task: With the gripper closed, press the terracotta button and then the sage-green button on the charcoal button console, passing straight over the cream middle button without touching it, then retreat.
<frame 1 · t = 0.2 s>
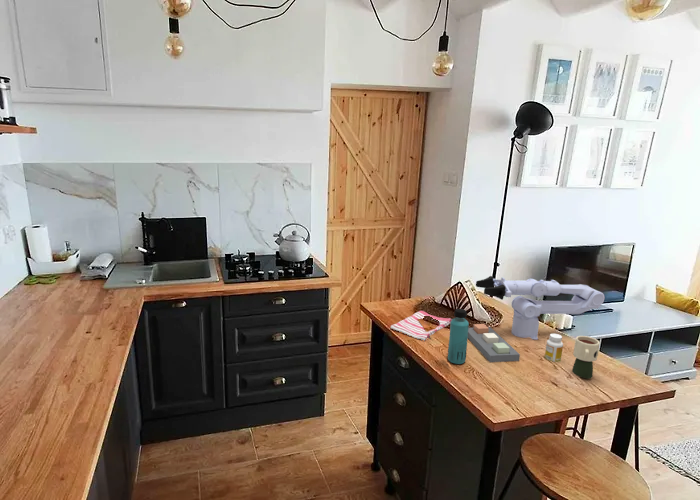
hand: (480, 287, 174), 21 cm above the worktop, tool horizontal, fingers open, 7 cm apart
button console: (489, 348, 169), on the worktop
supplement bottle: (552, 361, 162), on the worktop
sage button: (500, 349, 160), point 4 cm above the worktop, slide at 0.0 cm
beverage bottle: (456, 363, 157), on the worktop
terracotta button: (480, 329, 177), point 4 cm above the worktop, slide at 0.0 cm
dish towel: (421, 328, 188), on the worktop
character mug: (581, 376, 151), on the worktop
cream button: (490, 339, 168), point 4 cm above the worktop, slide at 0.0 cm
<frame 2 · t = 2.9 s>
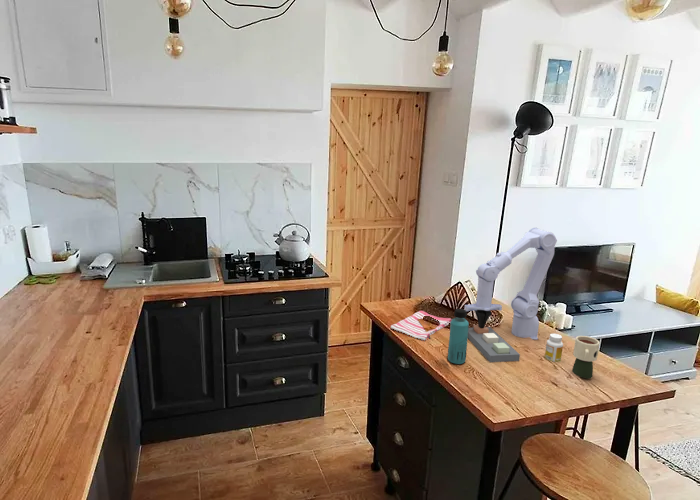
hand: (481, 327, 176), 5 cm above the worktop, tool pointing down, fingers closed, pressing on terracotta button
terracotta button: (480, 330, 177), point 4 cm above the worktop, slide at 0.4 cm, touching gripper
everything else where it was.
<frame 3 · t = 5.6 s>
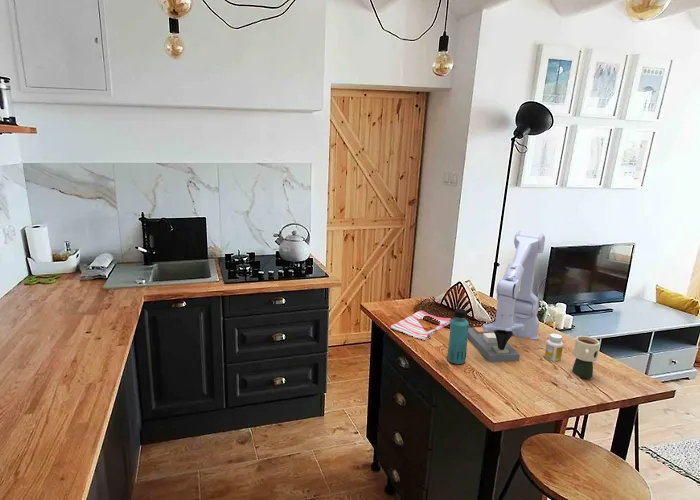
hand: (500, 348, 160), 4 cm above the worktop, tool pointing down, fingers closed, pressing on sage button
sage button: (500, 352, 161), point 3 cm above the worktop, slide at 1.2 cm, touching gripper
terracotta button: (480, 332, 177), point 3 cm above the worktop, slide at 1.3 cm
everything else where it was.
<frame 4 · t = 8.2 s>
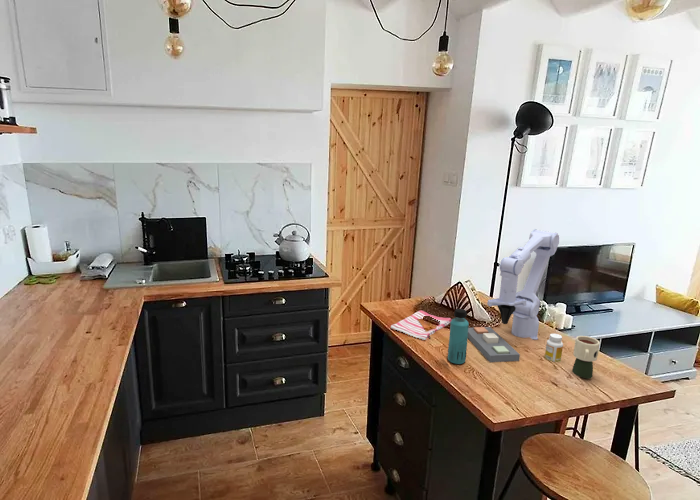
hand: (504, 323, 170), 9 cm above the worktop, tool pointing down, fingers closed
sage button: (500, 352, 161), point 3 cm above the worktop, slide at 1.3 cm
everything else where it was.
at the end: terracotta button slide at 1.3 cm; sage button slide at 1.3 cm; cream button slide at 0.0 cm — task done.
